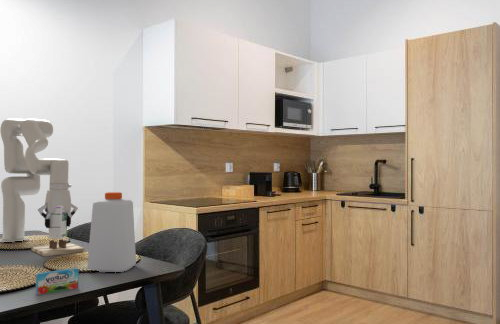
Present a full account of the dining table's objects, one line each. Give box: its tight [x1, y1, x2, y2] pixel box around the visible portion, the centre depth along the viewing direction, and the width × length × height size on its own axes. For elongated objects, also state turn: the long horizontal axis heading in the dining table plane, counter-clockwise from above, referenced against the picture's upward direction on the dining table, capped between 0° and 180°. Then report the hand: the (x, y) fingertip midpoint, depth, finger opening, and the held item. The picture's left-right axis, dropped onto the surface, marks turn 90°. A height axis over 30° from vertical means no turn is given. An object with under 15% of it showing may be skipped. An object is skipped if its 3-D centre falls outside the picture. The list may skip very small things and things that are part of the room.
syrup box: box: [48, 205, 68, 240], centre depth 197 cm, size 6×6×14 cm
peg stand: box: [30, 238, 85, 257], centre depth 196 cm, size 17×17×4 cm
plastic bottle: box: [86, 191, 137, 274], centre depth 165 cm, size 15×15×28 cm
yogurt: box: [35, 267, 80, 296], centre depth 134 cm, size 12×2×6 cm, turn 132°
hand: (57, 226), depth 197 cm, fingers closed on syrup box, 8 cm apart
